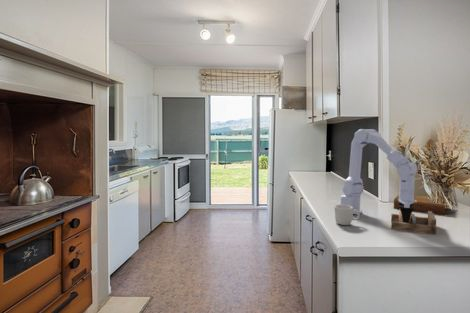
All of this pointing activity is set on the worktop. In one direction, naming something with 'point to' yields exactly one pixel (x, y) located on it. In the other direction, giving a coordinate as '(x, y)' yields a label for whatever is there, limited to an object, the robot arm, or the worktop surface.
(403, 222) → the jar
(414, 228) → the brown wooden frame
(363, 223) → the worktop surface
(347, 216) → the cup
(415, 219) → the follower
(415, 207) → the brown wooden flat block
